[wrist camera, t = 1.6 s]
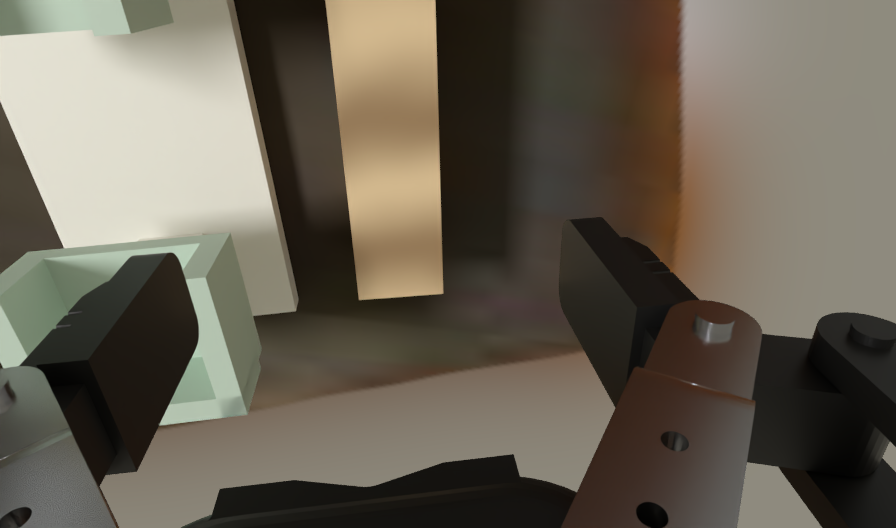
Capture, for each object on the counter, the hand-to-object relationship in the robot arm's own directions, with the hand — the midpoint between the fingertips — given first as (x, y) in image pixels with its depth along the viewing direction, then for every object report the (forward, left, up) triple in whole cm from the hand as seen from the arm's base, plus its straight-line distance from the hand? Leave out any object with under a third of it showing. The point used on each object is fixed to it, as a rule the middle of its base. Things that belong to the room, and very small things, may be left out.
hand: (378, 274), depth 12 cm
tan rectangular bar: (-1, 0, -17) cm, 17 cm away
